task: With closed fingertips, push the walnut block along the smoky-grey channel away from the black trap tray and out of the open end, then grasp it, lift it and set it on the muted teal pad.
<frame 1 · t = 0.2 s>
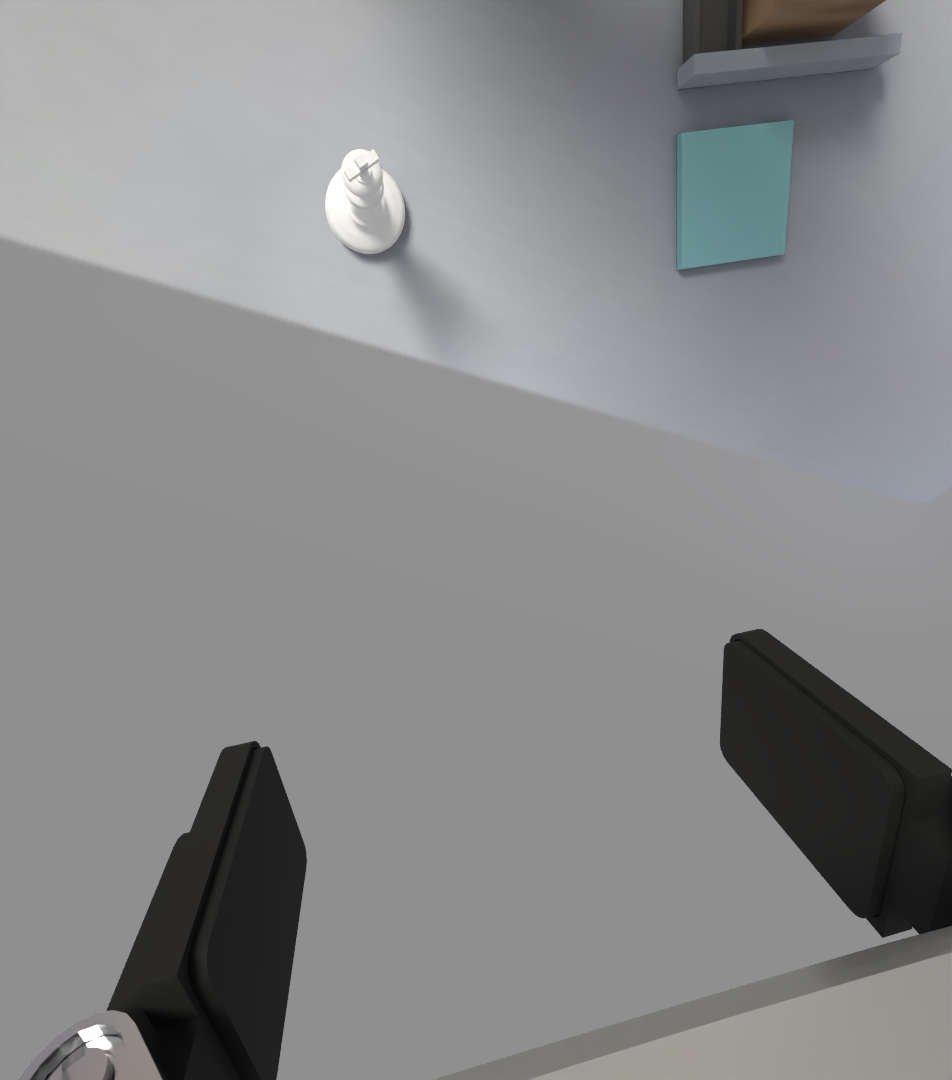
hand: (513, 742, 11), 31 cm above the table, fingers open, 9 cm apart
chess piece: (365, 211, 34), on the table
pad: (730, 198, 37), on the table
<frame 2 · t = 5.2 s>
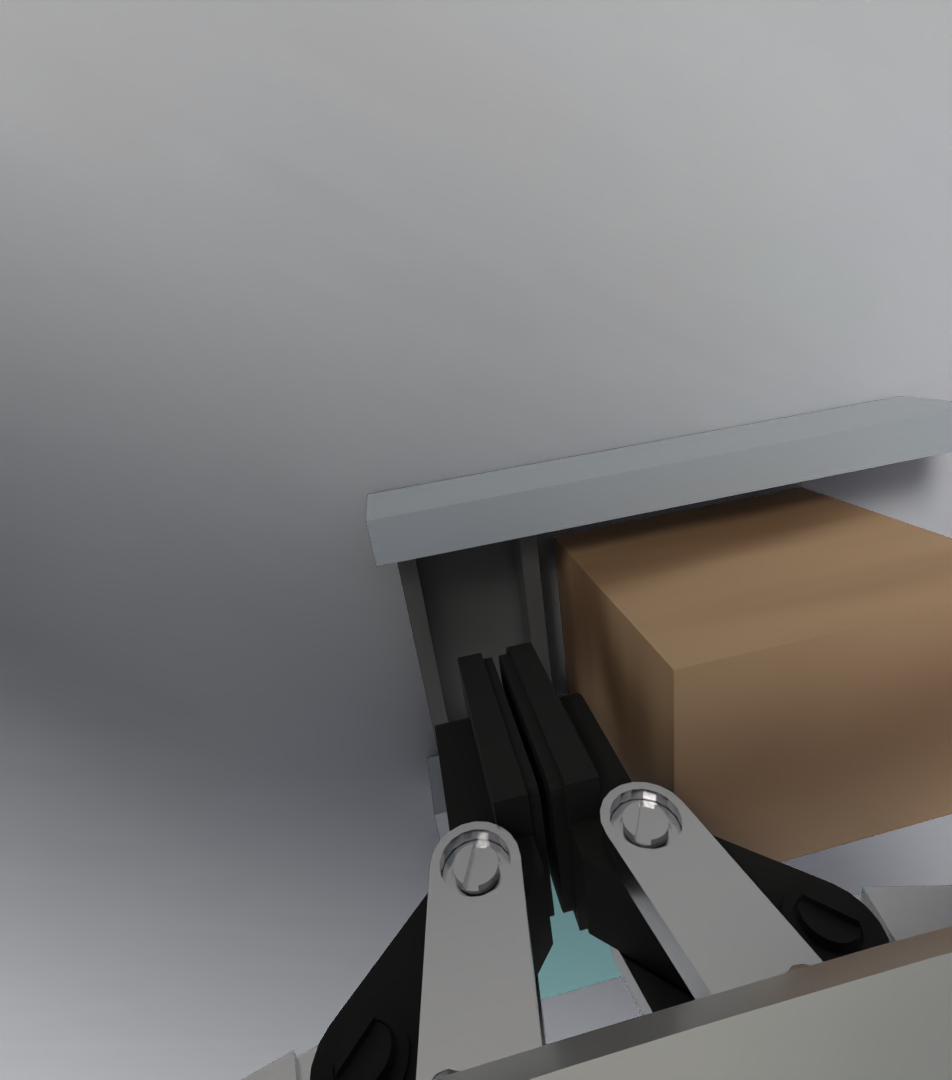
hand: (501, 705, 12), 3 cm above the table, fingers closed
walnut block: (680, 594, 15), resting in grey twin-rail rack, touching gripper
pad: (578, 895, 18), on the table
grey twin-rail rack: (653, 601, 15), on the table
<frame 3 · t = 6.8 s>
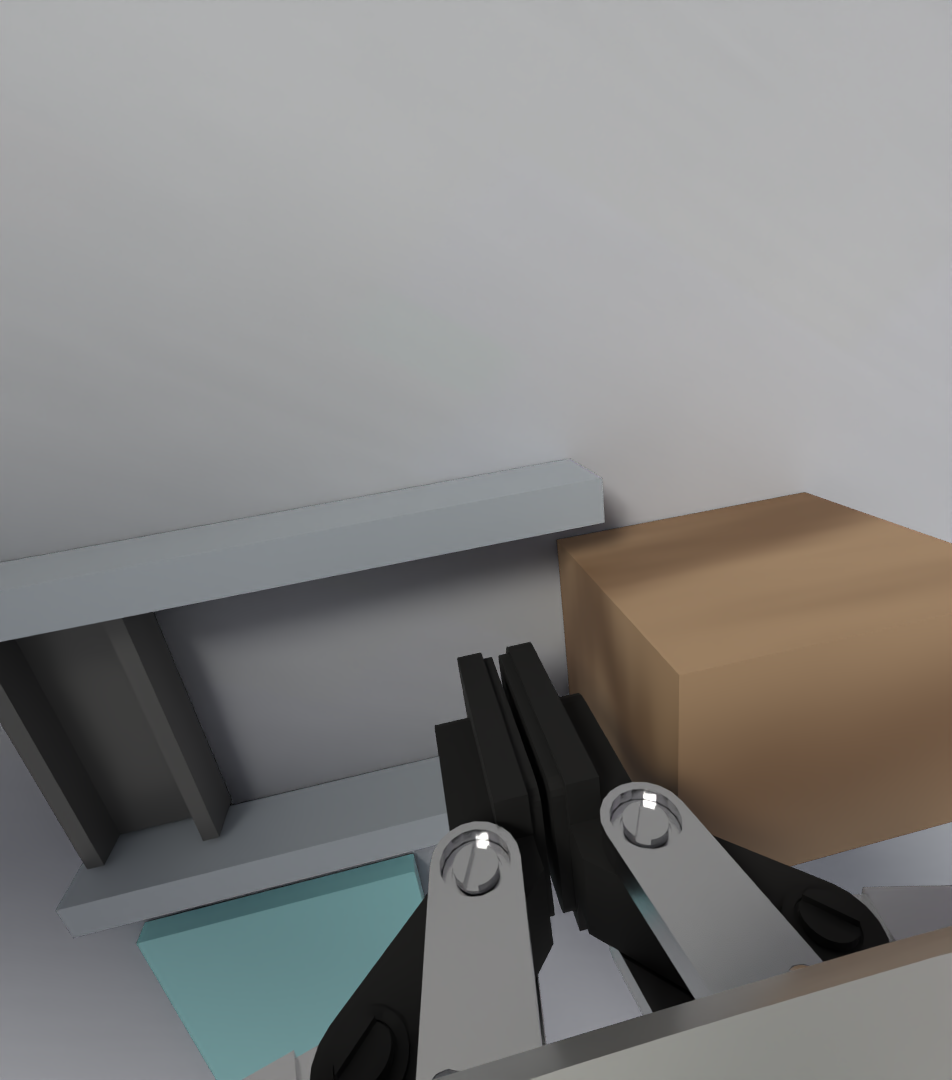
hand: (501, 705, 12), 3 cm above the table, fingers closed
walnut block: (683, 598, 15), on the table, touching gripper
pad: (315, 969, 17), on the table
grey twin-rail rack: (326, 674, 14), on the table
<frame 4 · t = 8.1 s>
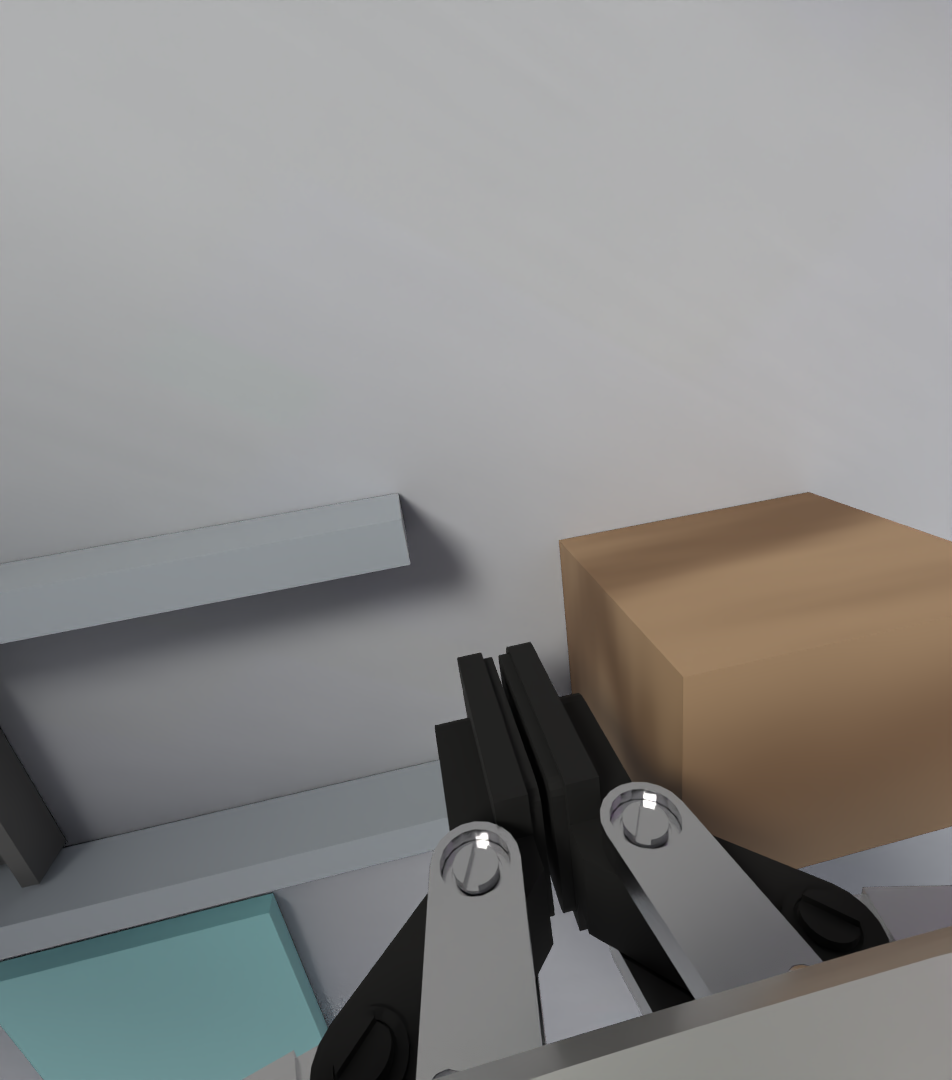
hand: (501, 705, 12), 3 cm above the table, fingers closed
walnut block: (686, 599, 15), on the table, touching gripper
pad: (180, 1009, 17), on the table
grey twin-rail rack: (155, 713, 13), on the table
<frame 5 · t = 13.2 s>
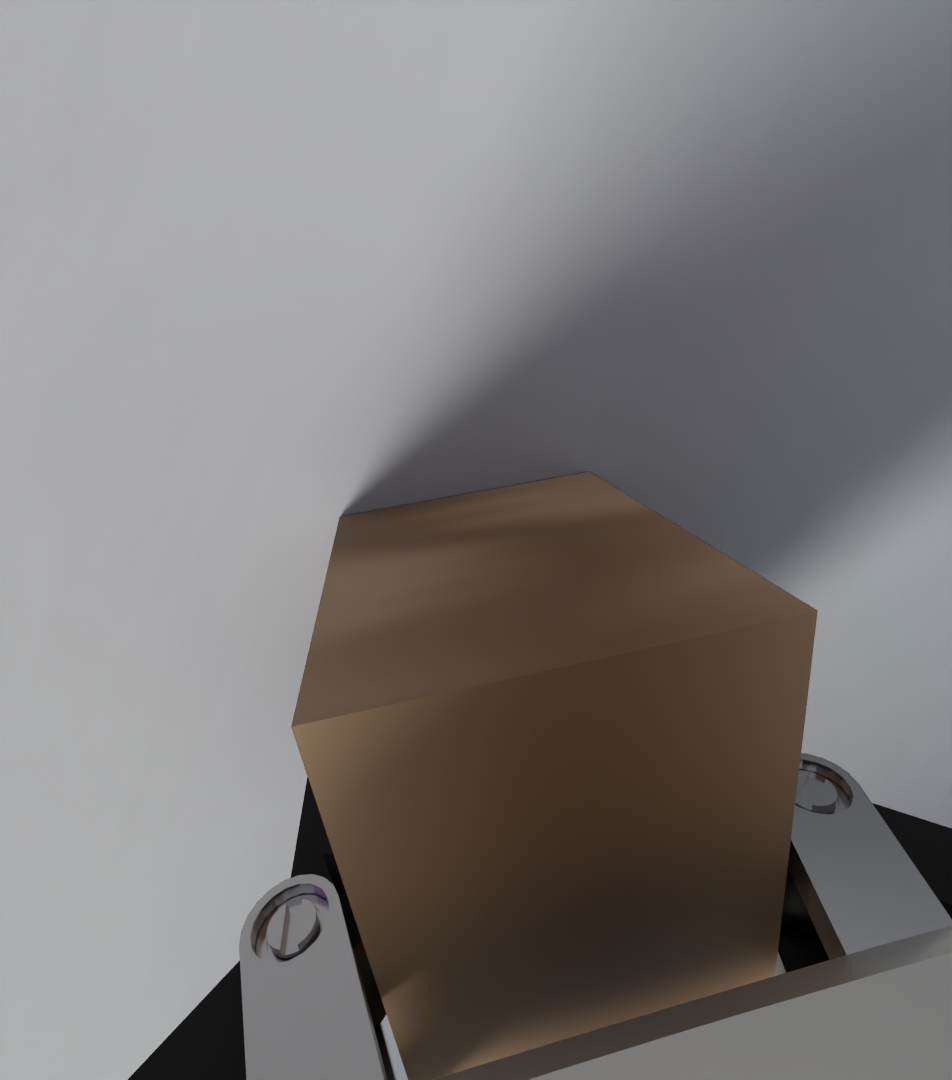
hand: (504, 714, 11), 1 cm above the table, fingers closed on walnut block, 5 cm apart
walnut block: (490, 644, 12), on the table, touching gripper
grey twin-rail rack: (546, 1028, 17), on the table
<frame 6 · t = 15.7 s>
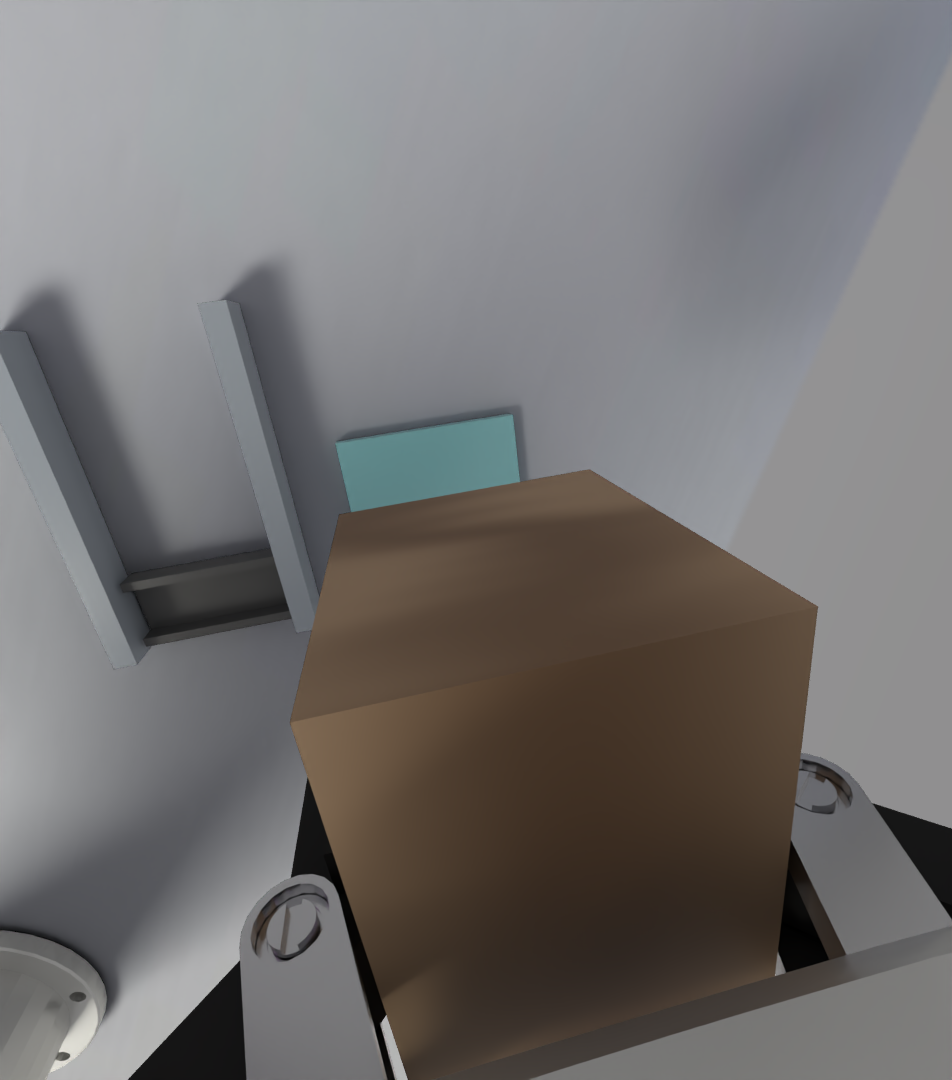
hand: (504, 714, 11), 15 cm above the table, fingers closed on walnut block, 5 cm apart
walnut block: (489, 643, 12), point 15 cm above the table, touching gripper
pad: (438, 509, 26), on the table
grey twin-rail rack: (181, 489, 23), on the table
when the fingers open (3 cm above the table, at t = 18.4 s): walnut block drops 1 cm, resting on pad.
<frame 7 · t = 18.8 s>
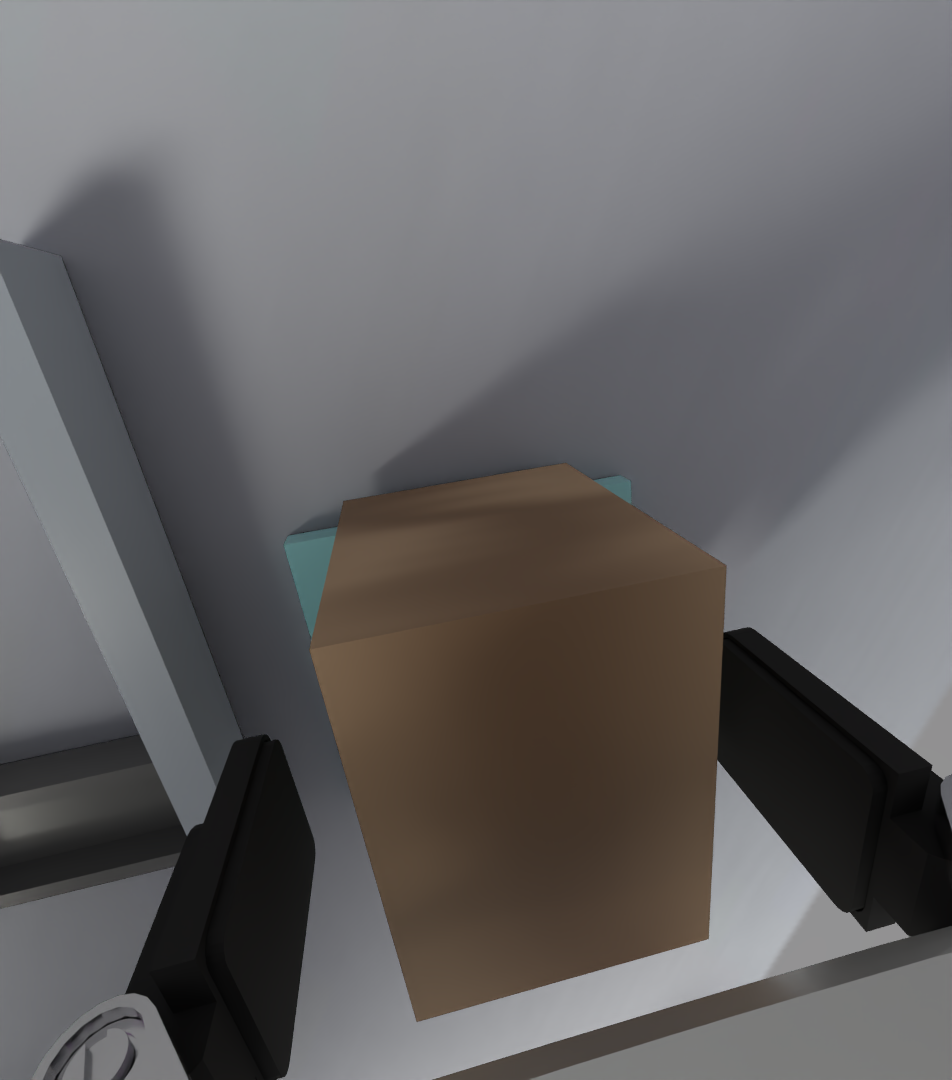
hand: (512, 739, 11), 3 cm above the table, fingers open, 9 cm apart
walnut block: (477, 619, 13), point 1 cm above the table, touching pad
pad: (481, 647, 14), on the table
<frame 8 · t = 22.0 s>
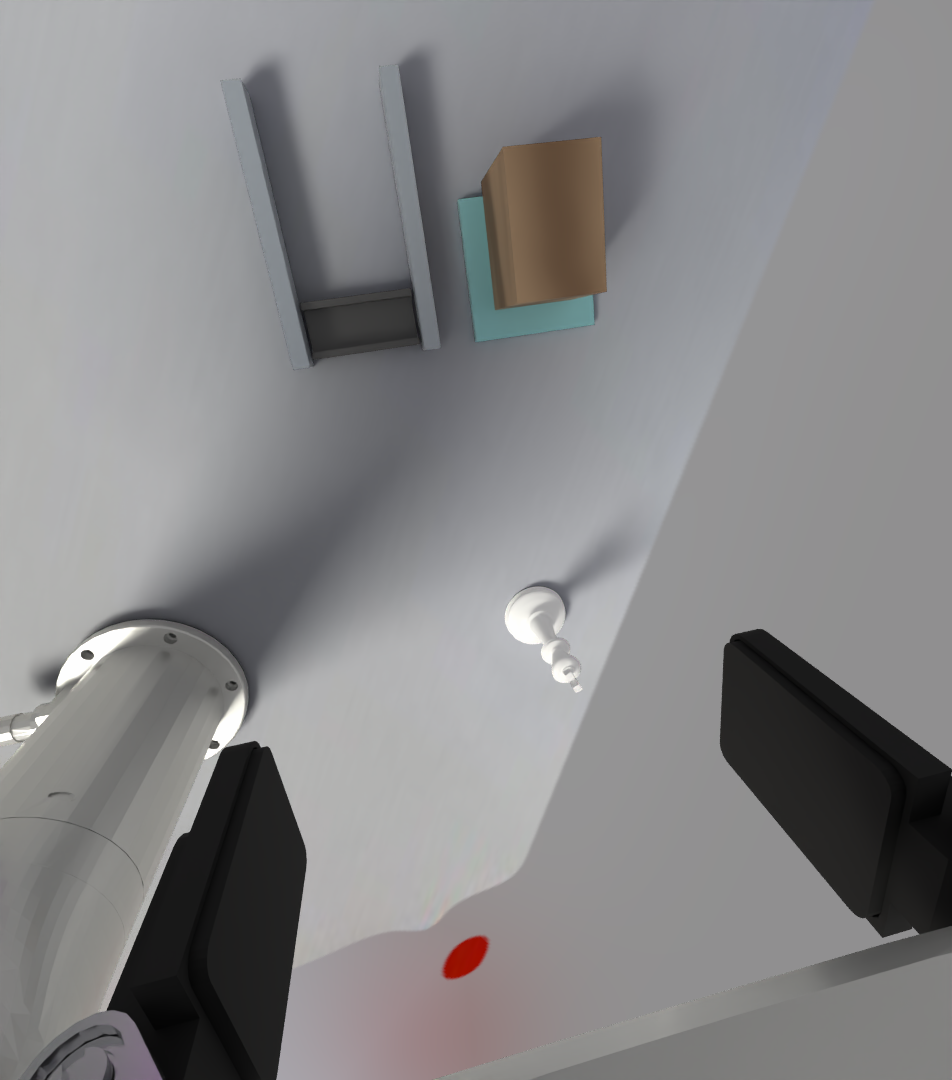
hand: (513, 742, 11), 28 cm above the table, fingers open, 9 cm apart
chess piece: (533, 612, 43), on the table
walnut block: (527, 243, 33), point 1 cm above the table, touching pad
pad: (527, 266, 34), on the table
grey twin-rail rack: (344, 234, 31), on the table
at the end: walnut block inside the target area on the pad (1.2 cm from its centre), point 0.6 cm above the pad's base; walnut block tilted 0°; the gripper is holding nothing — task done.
